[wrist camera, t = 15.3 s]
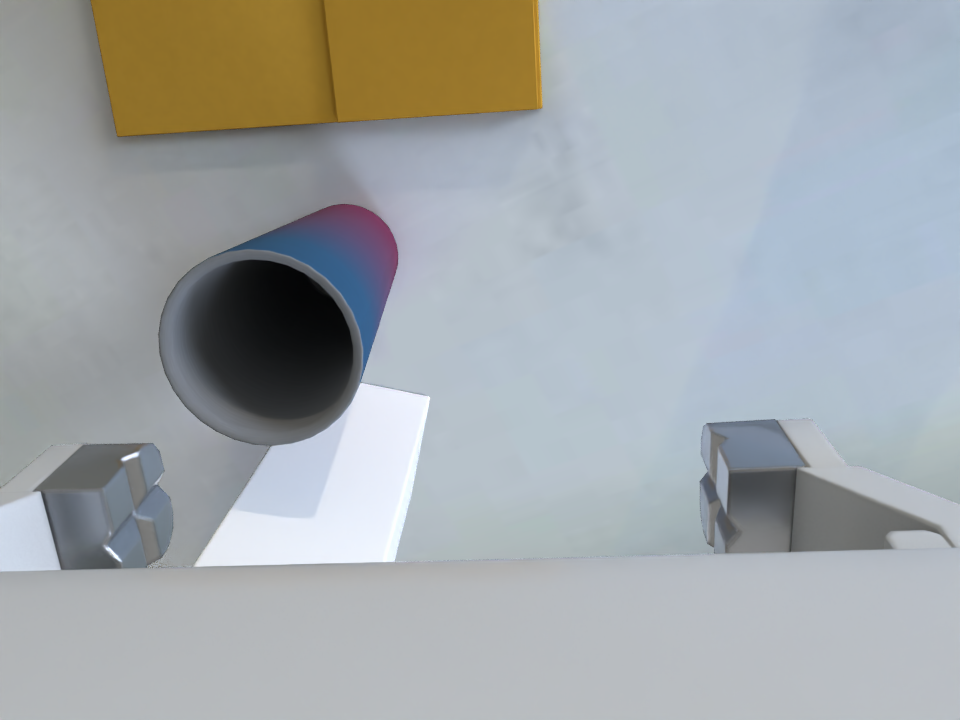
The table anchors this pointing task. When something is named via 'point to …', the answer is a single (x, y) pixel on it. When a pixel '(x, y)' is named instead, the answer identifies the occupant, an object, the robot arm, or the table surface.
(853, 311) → the table surface
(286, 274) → the cup
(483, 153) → the table surface
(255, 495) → the milk
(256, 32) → the cloth
